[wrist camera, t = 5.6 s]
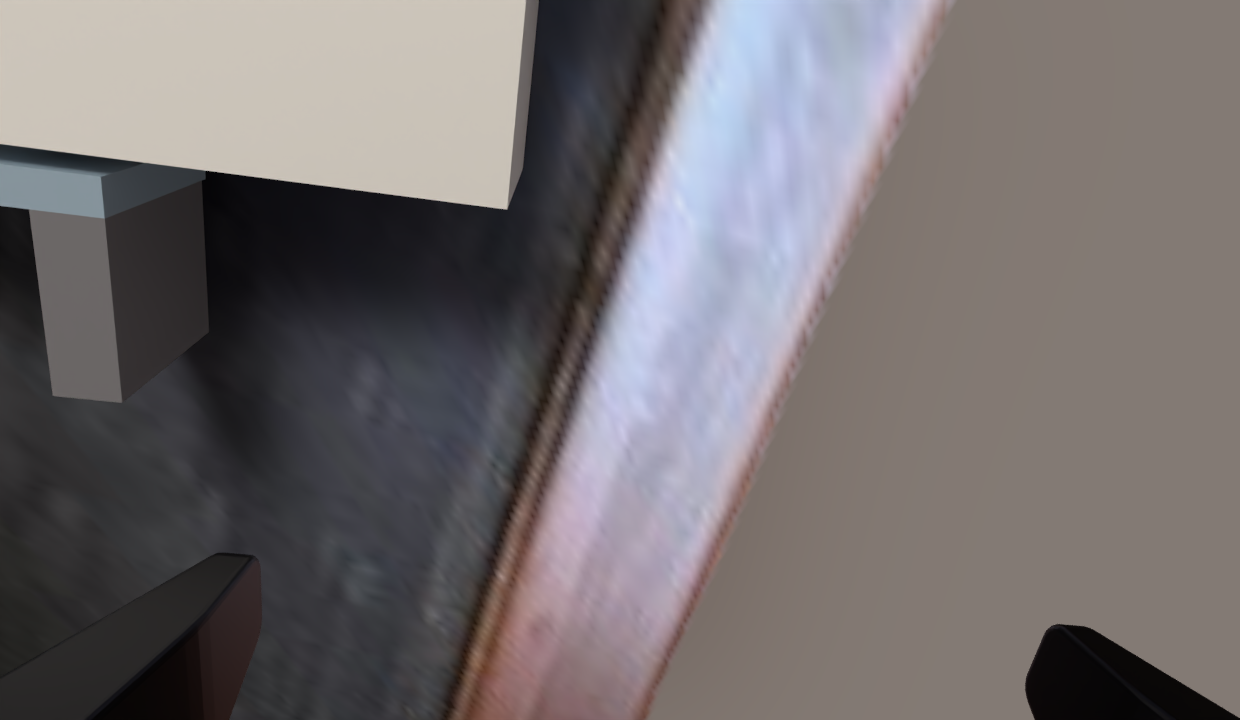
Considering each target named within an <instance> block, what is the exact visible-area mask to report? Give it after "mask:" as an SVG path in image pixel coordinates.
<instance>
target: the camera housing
mask: <svg viewBox="0 0 1240 720" xmlns="http://www.w3.org/2000/svg"><path fill="white" fill-rule="evenodd" d="M538 5H539V0H0V144H5V145H12V146H20V147H28V148H35V149H43V150H51V151H59V152H66V153H74V154H82V155H89V156H97V157H105V158H113V159H120V160H128V161H136V162H143V163H151V164H159V165H167V166H174V167H182V168H190V169H197V170H205V171H213V172H221V173H228V174H236V175H244V176H251V177H259V178H267V179H275V180H282V181H290V182H298V183H305V184H313V185H321V186H329V187H336V188H344V189H352V190H359V191H367V192H375V193H383V194H390V195H398V196H406V197H413V198H421V199H429V200H437V201H444V202H452V203H460V204H467V205H475V206H483V207H491V208H498V209H506V210H507V209H508V206H509V203H510V202H511V199H512V196H513V194H514V191H515V189H516V186H517V183H518V181H519V178H520V176H521V172H522V170H523V162H524V152H525V141H526V131H527V120H528V110H529V99H530V89H531V79H532V68H533V58H534V47H535V37H536V26H537V16H538Z"/></svg>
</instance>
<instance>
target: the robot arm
mask: <svg viewBox="0 0 1240 720" xmlns="http://www.w3.org/2000/svg"><path fill="white" fill-rule="evenodd" d="M261 623H262V598H261V568H260V563H259V560H258V559H257V558H256V557H255V556H253V555H247V554H235V553H216V554H214V555H212V556H210V557H208V558H206V559H205V560H203V561H201V562H199V563H198V564H196V565H194V566H193V567H191V568H189V569H187V570H186V571H184V572H182V573H180V574H179V575H177V576H175V577H173V578H172V579H170V580H168V581H166V582H165V583H163V584H161V585H160V586H158V587H156V588H154V589H153V590H151V591H149V592H147V593H146V594H144V595H142V596H140V597H139V598H137V599H135V600H133V601H132V602H130V603H128V604H127V605H125V606H123V607H121V608H120V609H118V610H116V611H114V612H113V613H111V614H109V615H107V616H106V617H104V618H102V619H100V620H99V621H97V622H95V623H94V624H92V625H90V626H88V627H87V628H85V629H83V630H81V631H80V632H78V633H76V634H74V635H73V636H71V637H69V638H67V639H66V640H64V641H62V642H61V643H59V644H57V645H55V646H54V647H52V648H50V649H48V650H47V651H45V652H43V653H41V654H40V655H38V656H36V657H34V658H33V659H31V660H29V661H28V662H26V663H24V664H22V665H21V666H19V667H17V668H15V669H14V670H12V671H10V672H8V673H7V674H5V675H3V676H1V677H0V720H229V718H230V716H231V713H232V710H233V707H234V705H235V702H236V699H237V696H238V694H239V691H240V688H241V685H242V683H243V680H244V677H245V674H246V672H247V669H248V666H249V663H250V661H251V658H252V655H253V652H254V650H255V647H256V644H257V641H258V638H259V634H260V630H261ZM1025 691H1026V696H1027V700H1028V703H1029V706H1030V708H1031V711H1032V714H1033V716H1034V719H1035V720H1240V718H1238V717H1237V716H1235V715H1234V714H1232V713H1230V712H1229V711H1227V710H1225V709H1224V708H1222V707H1220V706H1219V705H1217V704H1215V703H1214V702H1212V701H1210V700H1209V699H1207V698H1205V697H1204V696H1202V695H1200V694H1199V693H1197V692H1196V691H1194V690H1192V689H1190V688H1189V687H1187V686H1185V685H1184V684H1182V683H1181V682H1179V681H1177V680H1176V679H1174V678H1172V677H1171V676H1169V675H1167V674H1166V673H1164V672H1162V671H1161V670H1159V669H1157V668H1156V667H1154V666H1152V665H1151V664H1149V663H1148V662H1146V661H1144V660H1143V659H1141V658H1139V657H1138V656H1136V655H1134V654H1133V653H1131V652H1129V651H1128V650H1126V649H1124V648H1123V647H1121V646H1119V645H1118V644H1116V643H1114V642H1113V641H1111V640H1109V639H1108V638H1106V637H1105V636H1103V635H1101V634H1100V633H1098V632H1096V631H1095V630H1093V629H1091V628H1088V627H1084V626H1075V625H1074V626H1073V625H1063V624H1056V625H1053V626H1051V627H1050V628H1049V629H1048V630H1046V632H1045V634H1044V636H1043V638H1042V641H1041V643H1040V646H1039V648H1038V650H1037V653H1036V655H1035V657H1034V660H1033V662H1032V664H1031V667H1030V669H1029V671H1028V674H1027V677H1026V683H1025Z"/></svg>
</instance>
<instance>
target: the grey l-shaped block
mask: <svg viewBox="0 0 1240 720" xmlns="http://www.w3.org/2000/svg"><path fill="white" fill-rule="evenodd" d="M204 179H206V175H205V170H197V169H190V168H182V167H174V166H167V165H159V164H151V163H143V162H136V161H128V160H120V159H113V158H105V157H97V156H89V155H82V154H74V153H66V152H59V151H51V150H43V149H35V148H28V147H20V146H12V145H5V144H0V206H6V207H14V208H22V209H29V214H30V222H31V230H32V237H33V245H34V253H35V261H36V268H37V276H38V284H39V291H40V299H41V307H42V315H43V322H44V330H45V338H46V346H47V353H48V361H49V369H50V377H51V384H52V392H53V396H60V397H70V398H80V399H89V400H99V401H109V402H119V403H122V402H124V401H125V400H126V399H127V398H129V397H130V396H131V395H132V394H134V393H135V392H136V391H137V390H138V389H140V388H141V387H142V386H143V385H145V384H146V383H147V382H148V381H150V380H151V379H152V378H153V377H154V376H156V375H157V374H158V373H159V372H161V371H162V370H163V369H164V368H165V367H167V366H168V365H169V364H170V363H172V362H173V361H174V360H175V359H177V358H178V357H179V356H180V355H181V354H183V353H184V352H185V351H186V350H188V349H189V348H190V347H191V346H192V345H194V344H195V343H196V342H197V341H199V340H200V339H201V338H202V337H204V336H205V335H206V334H207V333H208V332H209V319H208V299H207V279H206V258H205V238H204V218H203V197H202V180H204Z"/></svg>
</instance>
